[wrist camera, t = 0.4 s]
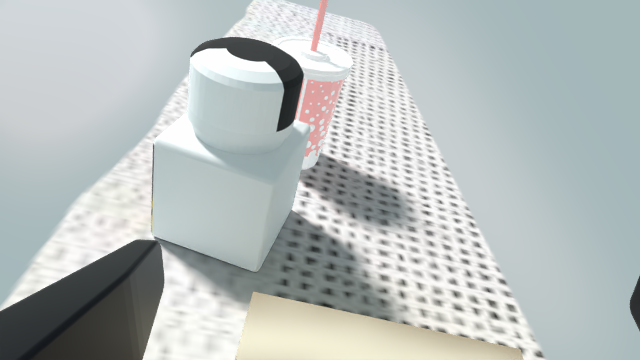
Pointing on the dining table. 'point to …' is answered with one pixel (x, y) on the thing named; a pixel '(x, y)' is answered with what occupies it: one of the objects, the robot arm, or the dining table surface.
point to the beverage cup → (317, 82)
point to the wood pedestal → (348, 336)
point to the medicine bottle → (231, 153)
